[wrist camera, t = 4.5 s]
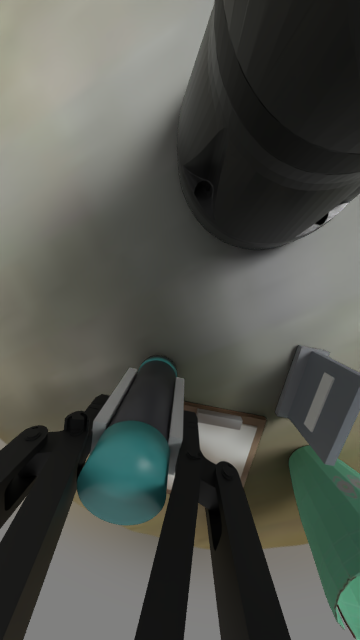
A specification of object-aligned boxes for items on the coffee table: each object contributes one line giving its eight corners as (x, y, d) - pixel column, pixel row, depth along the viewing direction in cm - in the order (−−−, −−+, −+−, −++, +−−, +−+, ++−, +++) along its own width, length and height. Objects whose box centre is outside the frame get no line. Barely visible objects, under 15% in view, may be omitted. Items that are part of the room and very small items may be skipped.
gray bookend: (298, 345, 19) (350, 372, 13) (325, 350, 19) (389, 380, 13) (274, 412, 21) (310, 463, 15) (299, 417, 21) (345, 470, 15)
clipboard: (172, 399, 21) (171, 406, 19) (264, 416, 21) (269, 425, 19) (153, 485, 23) (151, 497, 22) (235, 500, 23) (238, 513, 22)
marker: (142, 350, 19) (80, 446, 8) (181, 358, 19) (173, 465, 8) (136, 385, 20) (73, 516, 9) (173, 393, 20) (157, 532, 9)
